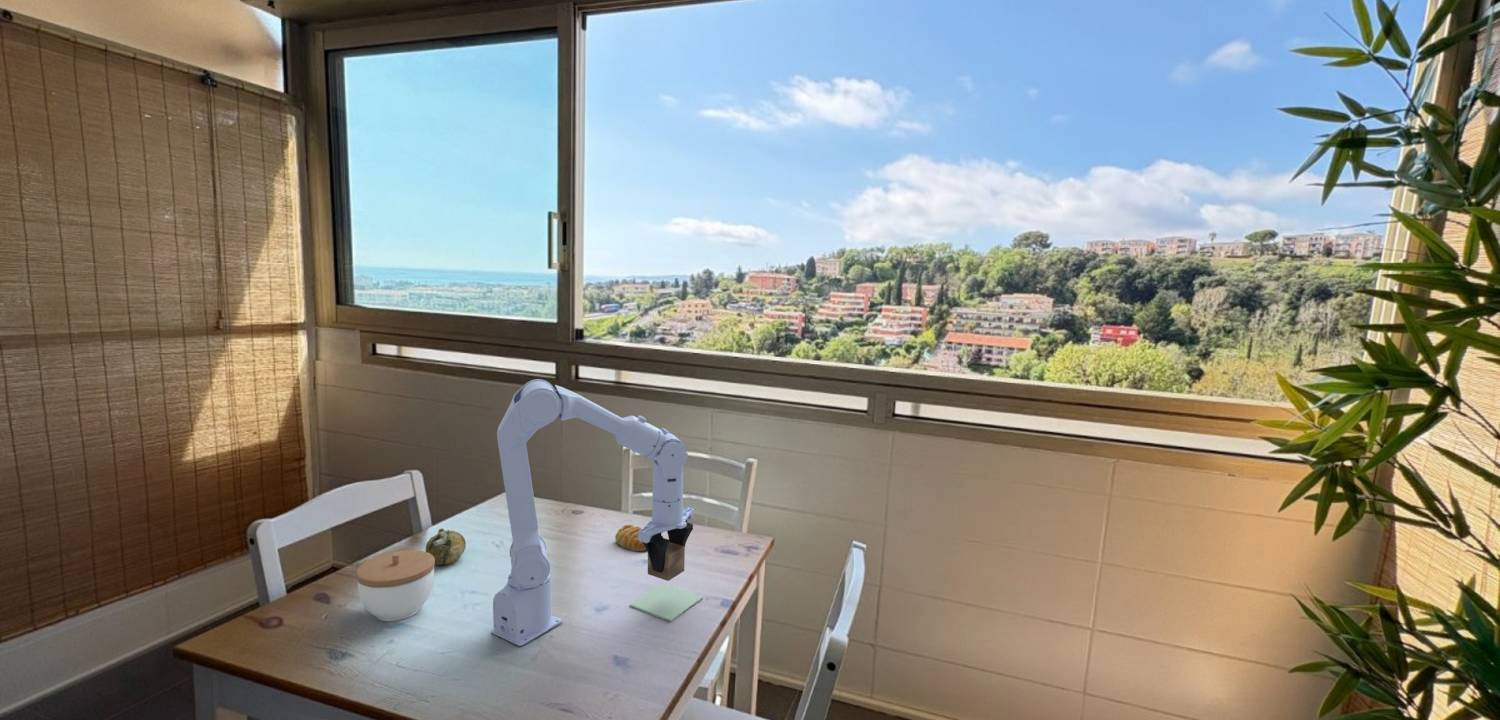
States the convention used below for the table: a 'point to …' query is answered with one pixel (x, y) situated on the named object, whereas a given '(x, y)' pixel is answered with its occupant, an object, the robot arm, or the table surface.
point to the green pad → (666, 602)
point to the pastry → (629, 538)
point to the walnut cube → (670, 562)
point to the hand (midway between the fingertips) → (667, 565)
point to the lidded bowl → (396, 583)
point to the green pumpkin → (446, 546)
